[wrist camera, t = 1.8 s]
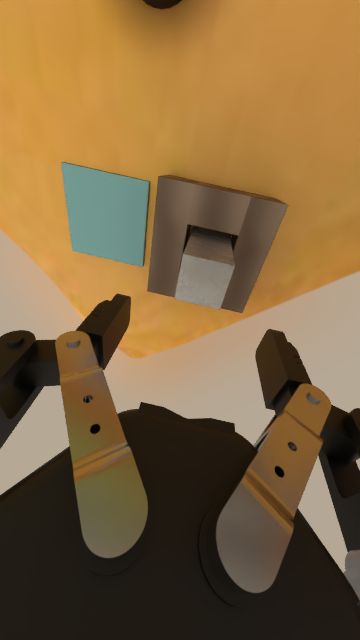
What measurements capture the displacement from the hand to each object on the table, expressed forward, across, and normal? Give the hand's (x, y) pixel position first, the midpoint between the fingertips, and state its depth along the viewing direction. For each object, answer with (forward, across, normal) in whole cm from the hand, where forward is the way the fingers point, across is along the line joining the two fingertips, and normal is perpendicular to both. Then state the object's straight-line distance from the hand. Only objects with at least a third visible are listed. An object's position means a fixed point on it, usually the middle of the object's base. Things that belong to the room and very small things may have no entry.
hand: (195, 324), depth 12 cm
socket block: (+18, 0, 0) cm, 18 cm away
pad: (+18, +13, 0) cm, 22 cm away
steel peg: (+18, 0, 0) cm, 18 cm away
